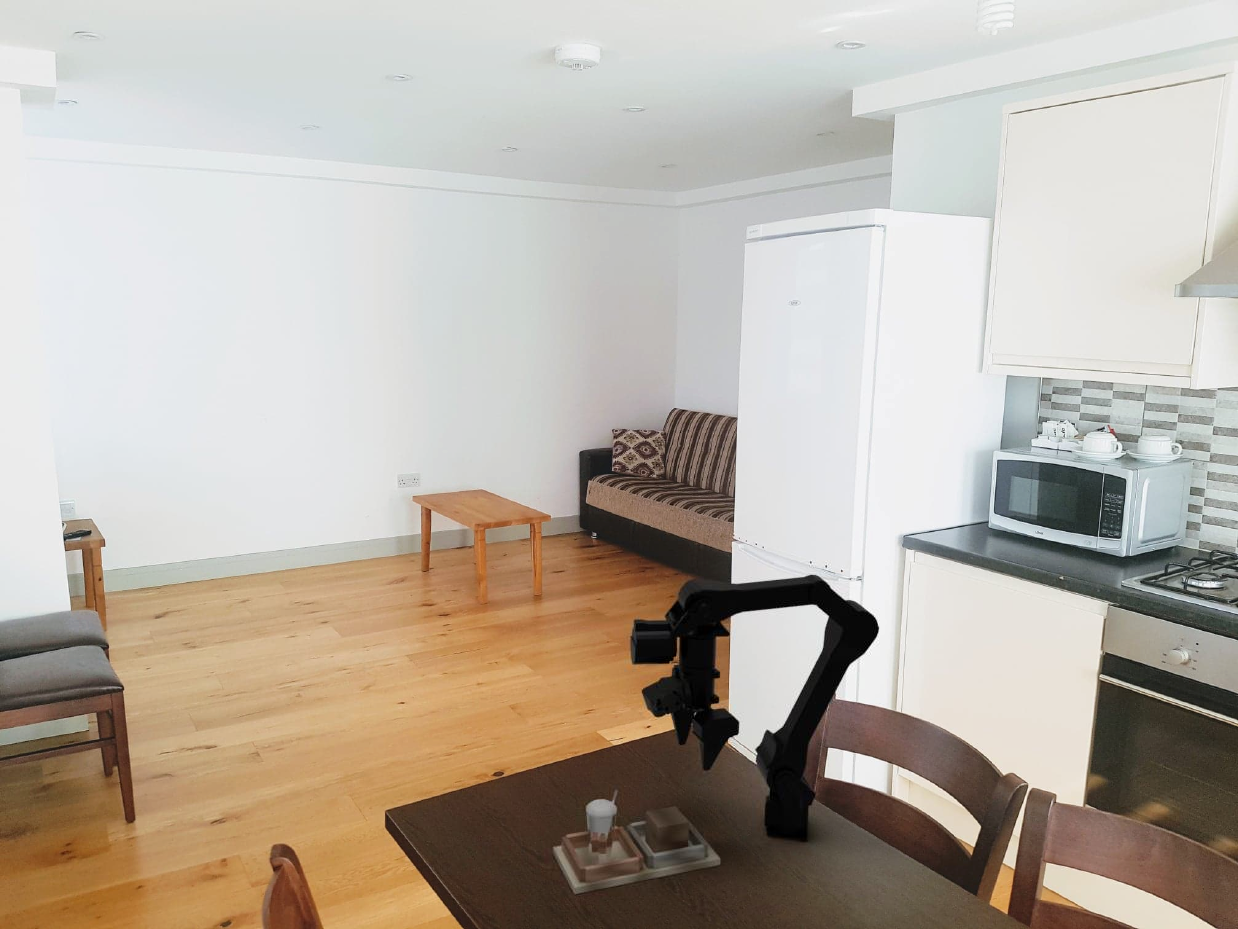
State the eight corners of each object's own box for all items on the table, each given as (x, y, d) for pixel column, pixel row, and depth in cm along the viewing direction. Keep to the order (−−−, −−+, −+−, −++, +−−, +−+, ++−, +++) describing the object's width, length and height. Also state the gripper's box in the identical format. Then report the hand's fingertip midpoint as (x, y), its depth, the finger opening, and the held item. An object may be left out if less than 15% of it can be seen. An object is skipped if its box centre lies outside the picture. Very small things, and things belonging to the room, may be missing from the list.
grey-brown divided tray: (689, 828, 150) (690, 793, 150) (720, 864, 140) (721, 827, 139) (552, 853, 143) (553, 816, 142) (574, 894, 132) (575, 855, 131)
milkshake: (626, 858, 140) (627, 796, 138) (599, 872, 136) (600, 808, 135) (605, 845, 143) (606, 784, 142) (579, 859, 139) (580, 796, 138)
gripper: (627, 647, 150) (625, 739, 153) (673, 690, 133) (670, 792, 135) (690, 641, 154) (687, 730, 157) (742, 681, 137) (738, 781, 139)
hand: (693, 757), depth 147 cm, fingers open, 9 cm apart
